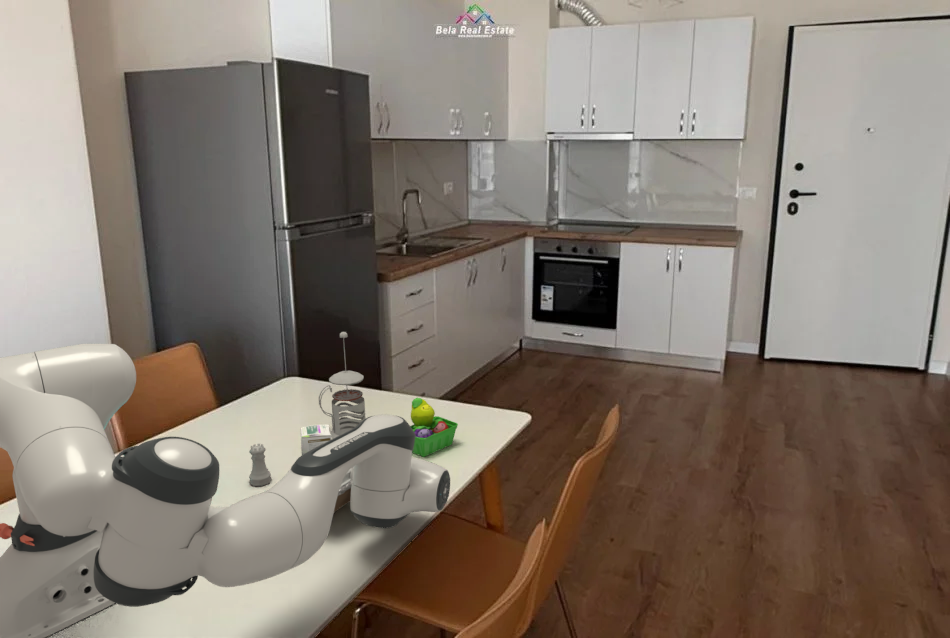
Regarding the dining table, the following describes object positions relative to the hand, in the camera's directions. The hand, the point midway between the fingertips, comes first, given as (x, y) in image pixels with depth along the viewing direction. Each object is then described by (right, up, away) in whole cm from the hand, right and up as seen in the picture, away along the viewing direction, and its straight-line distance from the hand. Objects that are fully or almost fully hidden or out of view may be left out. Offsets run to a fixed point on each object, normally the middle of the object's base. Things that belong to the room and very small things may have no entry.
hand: (313, 457), depth 139 cm
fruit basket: (+21, -2, +24) cm, 32 cm away
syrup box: (+1, -9, +2) cm, 9 cm away
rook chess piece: (-13, -7, +9) cm, 17 cm away
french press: (0, -1, +33) cm, 33 cm away
